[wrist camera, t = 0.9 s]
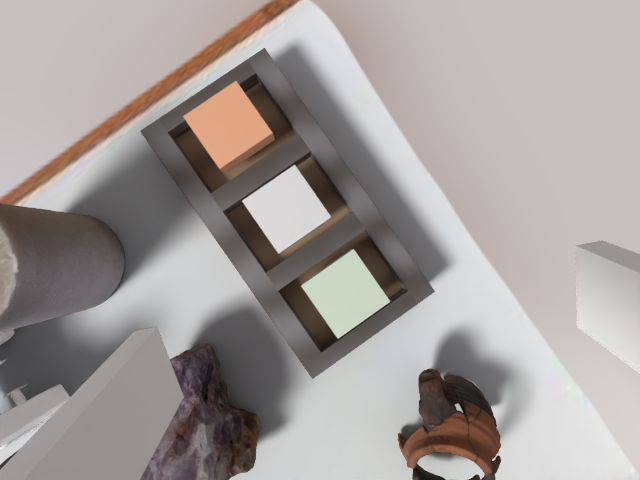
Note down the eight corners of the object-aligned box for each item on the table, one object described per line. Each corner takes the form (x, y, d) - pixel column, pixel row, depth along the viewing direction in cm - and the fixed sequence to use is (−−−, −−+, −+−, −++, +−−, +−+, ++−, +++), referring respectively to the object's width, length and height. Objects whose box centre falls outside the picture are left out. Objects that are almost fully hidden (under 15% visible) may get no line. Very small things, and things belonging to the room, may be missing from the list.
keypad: (423, 287, 37) (434, 291, 33) (312, 366, 36) (312, 378, 33) (268, 67, 37) (264, 48, 33) (156, 142, 36) (140, 131, 33)
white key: (330, 218, 33) (331, 217, 31) (280, 253, 33) (278, 253, 31) (295, 169, 33) (294, 164, 31) (245, 203, 33) (241, 201, 31)
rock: (231, 332, 38) (136, 372, 37) (202, 340, 29) (77, 393, 28) (272, 448, 35) (173, 493, 35) (256, 496, 27) (122, 556, 26)
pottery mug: (505, 423, 37) (525, 507, 30) (419, 435, 41) (418, 512, 34) (462, 334, 34) (472, 403, 27) (373, 356, 38) (361, 421, 31)
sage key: (385, 298, 33) (390, 301, 31) (336, 333, 33) (337, 338, 31) (351, 249, 33) (353, 248, 31) (301, 283, 33) (300, 285, 31)
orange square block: (274, 139, 33) (272, 132, 31) (225, 173, 33) (219, 169, 31) (240, 90, 33) (236, 80, 31) (190, 124, 33) (182, 116, 31)
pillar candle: (20, 227, 36) (-187, 212, 21) (116, 205, 36) (-22, 175, 21) (41, 321, 36) (-153, 373, 21) (137, 298, 36) (13, 333, 21)
